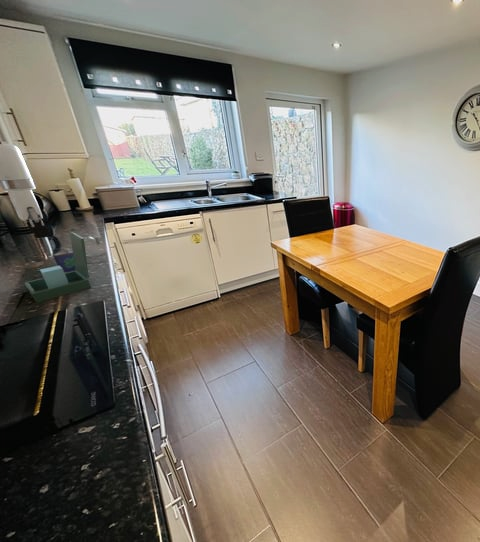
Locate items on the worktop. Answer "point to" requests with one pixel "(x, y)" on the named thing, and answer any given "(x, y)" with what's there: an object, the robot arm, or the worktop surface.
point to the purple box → (65, 260)
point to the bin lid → (80, 253)
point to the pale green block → (54, 276)
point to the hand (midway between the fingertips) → (40, 234)
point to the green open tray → (43, 293)
